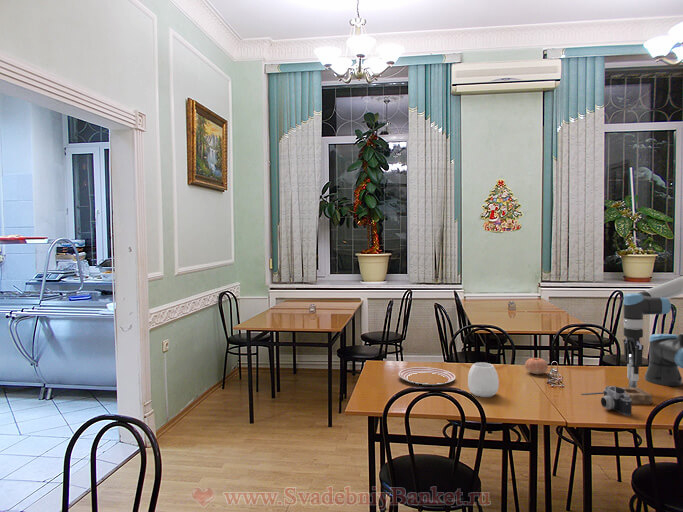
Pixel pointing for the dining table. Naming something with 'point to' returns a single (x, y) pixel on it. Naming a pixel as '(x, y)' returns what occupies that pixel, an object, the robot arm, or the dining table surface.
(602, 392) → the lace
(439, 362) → the dining table surface
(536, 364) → the tomato
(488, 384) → the cup
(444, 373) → the dinner plate
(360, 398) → the dining table surface
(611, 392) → the camera
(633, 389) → the brown square tray
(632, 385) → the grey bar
